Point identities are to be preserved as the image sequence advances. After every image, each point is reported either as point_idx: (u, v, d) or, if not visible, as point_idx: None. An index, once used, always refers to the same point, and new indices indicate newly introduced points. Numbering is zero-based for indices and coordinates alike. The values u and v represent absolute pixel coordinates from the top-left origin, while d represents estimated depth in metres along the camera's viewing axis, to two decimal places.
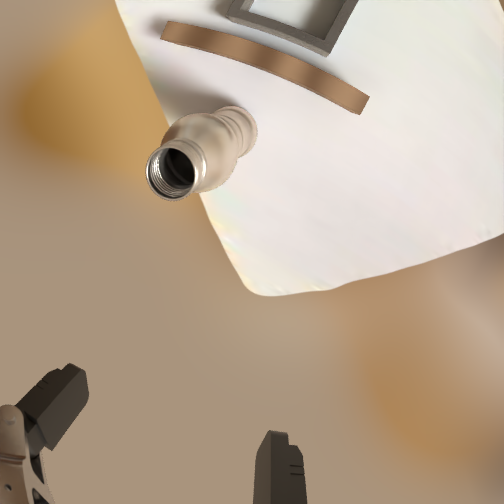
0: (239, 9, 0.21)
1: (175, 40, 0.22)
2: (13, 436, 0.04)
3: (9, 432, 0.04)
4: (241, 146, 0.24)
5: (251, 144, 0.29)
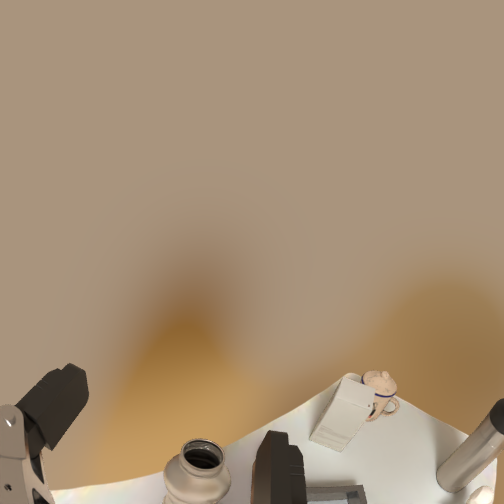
0: None
1: None
2: (13, 436, 0.04)
3: (9, 431, 0.04)
4: None
5: None
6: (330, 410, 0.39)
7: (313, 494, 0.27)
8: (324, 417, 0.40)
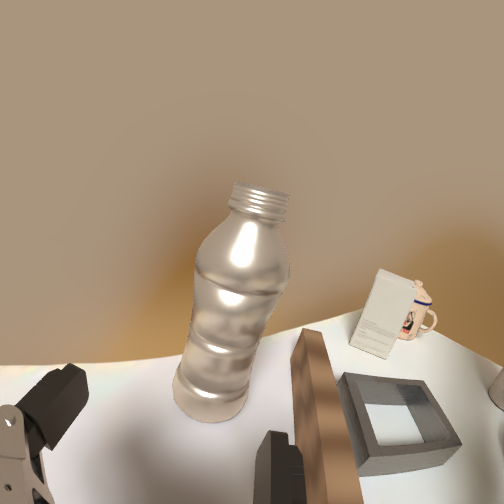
0: (355, 379, 0.26)
1: (305, 336, 0.31)
2: (13, 436, 0.04)
3: (9, 432, 0.04)
4: (232, 341, 0.18)
5: (205, 398, 0.19)
6: (372, 294, 0.39)
7: (372, 384, 0.26)
8: (366, 306, 0.39)
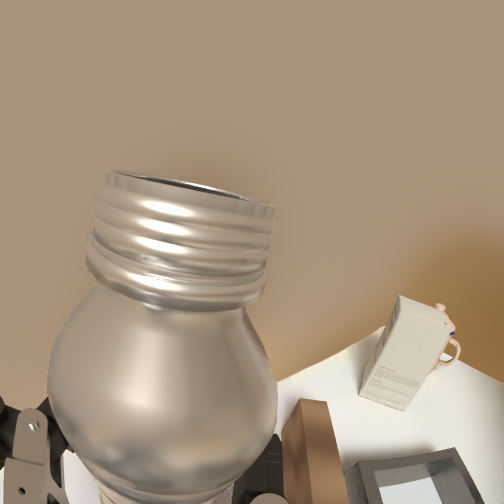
0: (373, 471, 0.14)
1: (304, 414, 0.18)
2: (38, 441, 0.04)
3: (30, 435, 0.04)
4: None
5: None
6: (394, 335, 0.27)
7: (394, 470, 0.14)
8: (384, 350, 0.27)
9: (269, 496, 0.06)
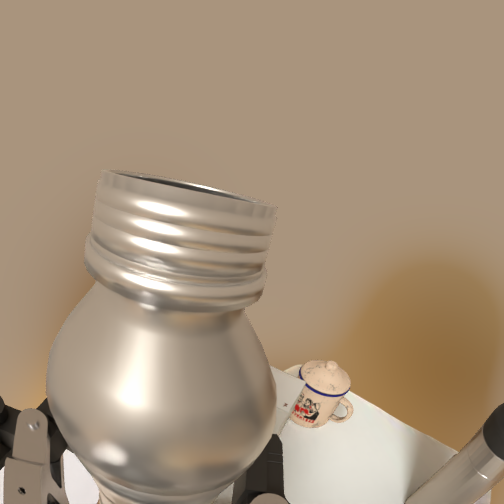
0: None
1: None
2: (38, 441, 0.04)
3: (30, 435, 0.04)
4: None
5: None
6: None
7: None
8: None
9: (269, 496, 0.06)
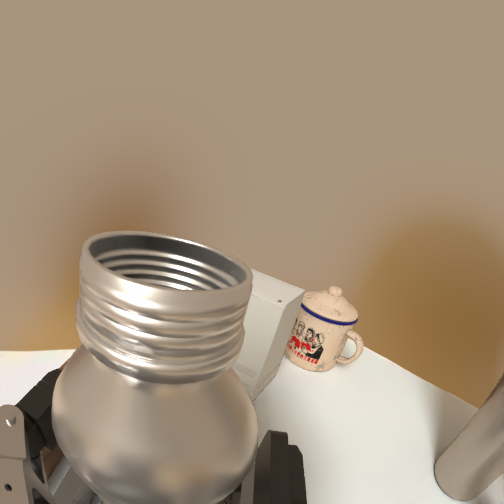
0: None
1: None
2: (13, 436, 0.04)
3: (9, 432, 0.04)
4: None
5: None
6: None
7: None
8: None
9: None
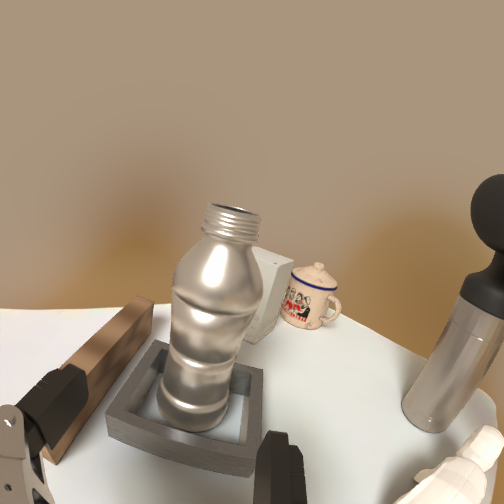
0: (161, 348, 0.27)
1: (132, 301, 0.31)
2: (13, 436, 0.04)
3: (9, 432, 0.04)
4: (208, 357, 0.18)
5: (186, 410, 0.19)
6: None
7: None
8: None
9: None
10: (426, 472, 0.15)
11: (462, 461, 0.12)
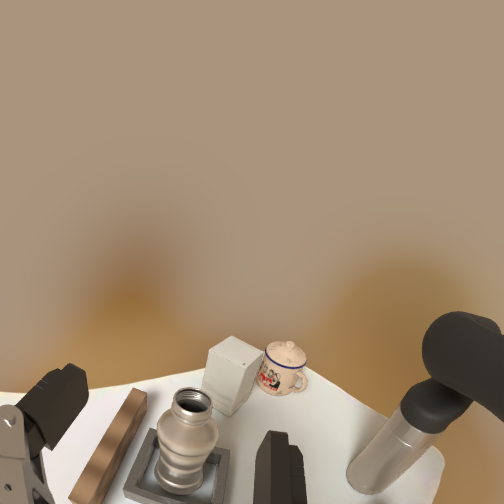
0: (155, 435, 0.31)
1: (129, 395, 0.35)
2: (13, 436, 0.04)
3: (9, 431, 0.04)
4: (184, 468, 0.22)
5: (174, 486, 0.23)
6: (208, 364, 0.44)
7: None
8: (205, 372, 0.44)
9: None
10: None
11: None
